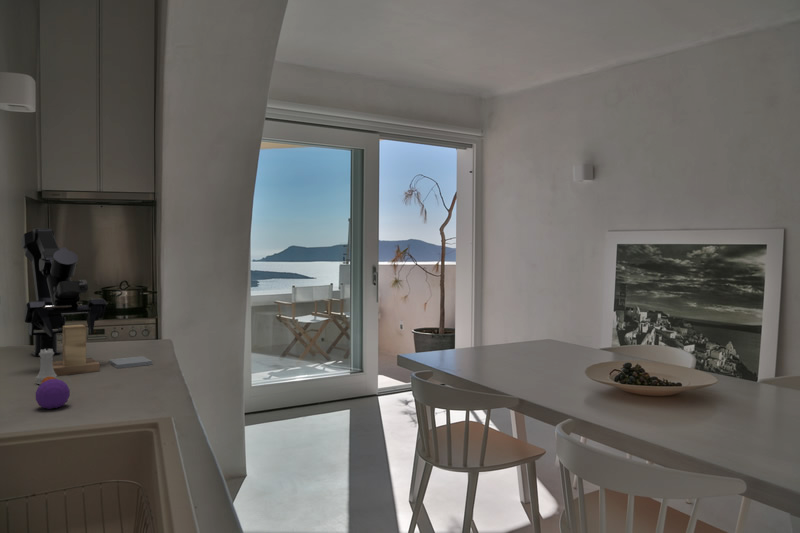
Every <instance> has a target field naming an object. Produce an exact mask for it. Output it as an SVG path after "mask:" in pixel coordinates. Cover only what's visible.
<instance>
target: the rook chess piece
mask: <svg viewBox="0 0 800 533" xmlns="http://www.w3.org/2000/svg"><path fill="white" fill-rule="evenodd" d="M53 356H54V352H53V349H51V350H50V349H48V350H46V349H41V350H40V353H39V356H38V357H40V359H39V362H40V367H39V372H37V373H38V374H37V375H36V377H35V379H36V381H35V383H36V384H37V385H38V384H39V386H40V385H41V382H42V380H43V379H44V378H46V377H50V376H51V377H54V378H56V379H57V377H58V376H57V375H56V374H55V372H54V369H53V364H52V362H53V361H54V358H53Z"/></svg>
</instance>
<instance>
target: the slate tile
mask: <svg viewBox="0 0 800 533" xmlns="http://www.w3.org/2000/svg"><path fill="white" fill-rule="evenodd" d="M108 364H110V365H111V366H113V367H114V368H116V369H124V368H125V369H126V368H133V367H142V366H152V365H153V360H151V359H149V358H147V357H145V356H143V355H141V356H140V355H139V356H132V357H131V356H129V357H123V358H122V357H121V358H110V359H108Z"/></svg>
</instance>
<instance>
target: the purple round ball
mask: <svg viewBox="0 0 800 533" xmlns="http://www.w3.org/2000/svg"><path fill="white" fill-rule="evenodd" d="M70 396H71V394H70V388H69V386H68V384H67V383H66V382H65V381H63V380H61V379H58V378H57V377H56V378H54V377H51V376H50V377H46V378H44V379H43V380H42V382H41V385H39V386H38V387H37V388H36V392H35V400H36V403H37V404H38V406H40V407H41V408H43V409H45V408H47V409H46V410H52V409H51V408H56V409H59V408H61V407H64V406H65V405H66V403H67V402H68V400H69V398H70ZM58 407H59V408H58Z"/></svg>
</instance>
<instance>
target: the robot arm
mask: <svg viewBox="0 0 800 533" xmlns="http://www.w3.org/2000/svg"><path fill="white" fill-rule="evenodd" d="M20 244H21V245H20V246H21V249H23V252H24V256H25V257H26V258H27V259H28V260H29V261H30V262H31V266H32V275H33V276H32V277H33V283H34V285H33V286H34V292H35V301H27V302H26V304H25V308H24V312H23V320H24V322H25V323H26V324H28V326H27V333H28V335H29V336H33V337H34V351H32V352H31V354H32V355H33V356H34V357H40V356H39V353H40V350H41V349H46V350H48V349H50V350H51V349H53V352H54V355H61V352H60V351H59V350H58V334H63V326H66V322H67V321H66V320H67V318H66V316H65V315H74V314H75V315H76V314H85V315H86V322H87V324H86V325H87V328H88V332H89V334H90V335H93V332H94V329H95V328H94V327H95V322H96V321H99V320H100V319H102V318H103V317H104V315H105V312H106V309H107V306H108V304H107V300H106V299H104V298H89V299H88V301H87V304H79V305H78V302H80V300H81V297H80V295H81V294H86V293H87V291H88V290H89V288H88V287H89V286H88V281H87V280H86V279H78V280H72V278H73V277H74V276H75V271H76V267H77V264H78V259H79V257H78V254H76V253H75V252H74V251H72V250H68V247H59V245H58V243H57V241H56V234H55V232H54V229H51V228H50V227H49V228H48V227H47V228H46V227H45V228H44V227H37V228H33V230H30V231H28V232H26V233H23V235H22V236H21V242H20ZM54 355H53V356H54Z"/></svg>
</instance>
